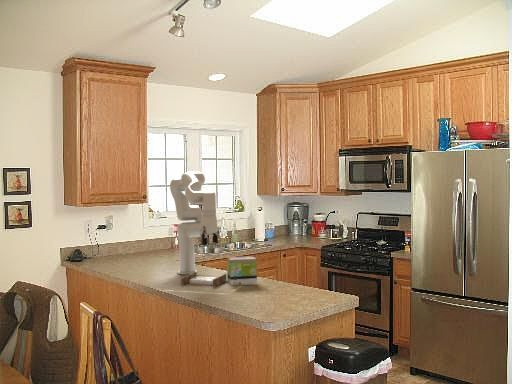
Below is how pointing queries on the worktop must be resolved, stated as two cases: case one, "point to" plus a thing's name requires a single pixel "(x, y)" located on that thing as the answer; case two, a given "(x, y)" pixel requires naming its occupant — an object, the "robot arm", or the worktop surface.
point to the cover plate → (202, 280)
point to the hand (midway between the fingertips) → (210, 243)
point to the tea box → (242, 270)
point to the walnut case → (216, 281)
